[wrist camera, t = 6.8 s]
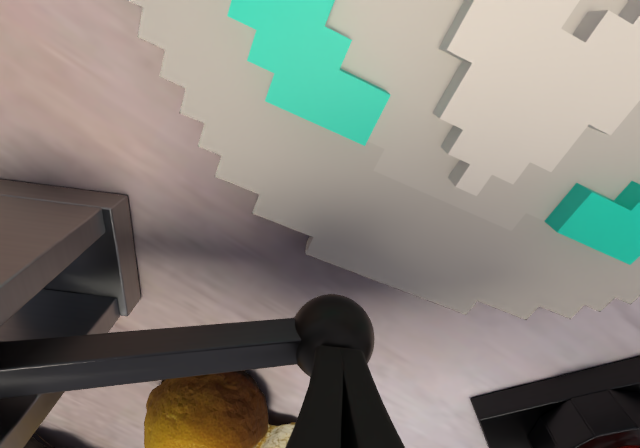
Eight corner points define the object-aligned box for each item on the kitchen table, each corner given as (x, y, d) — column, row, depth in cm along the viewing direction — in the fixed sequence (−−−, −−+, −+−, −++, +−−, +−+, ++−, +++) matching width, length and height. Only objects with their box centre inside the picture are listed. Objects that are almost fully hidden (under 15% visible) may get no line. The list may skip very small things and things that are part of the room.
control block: (689, 342, 16) (758, 402, 14) (686, 420, 19) (744, 483, 16) (469, 397, 19) (493, 458, 16) (493, 460, 21) (517, 522, 18)
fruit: (186, 462, 22) (162, 537, 19) (115, 370, 18) (68, 443, 15) (318, 443, 21) (316, 519, 17) (270, 340, 17) (257, 412, 14)
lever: (363, 275, 13) (397, 333, 11) (350, 333, 14) (377, 395, 12) (-147, 301, 9) (-272, 401, 7) (-100, 376, 10) (-192, 482, 8)
